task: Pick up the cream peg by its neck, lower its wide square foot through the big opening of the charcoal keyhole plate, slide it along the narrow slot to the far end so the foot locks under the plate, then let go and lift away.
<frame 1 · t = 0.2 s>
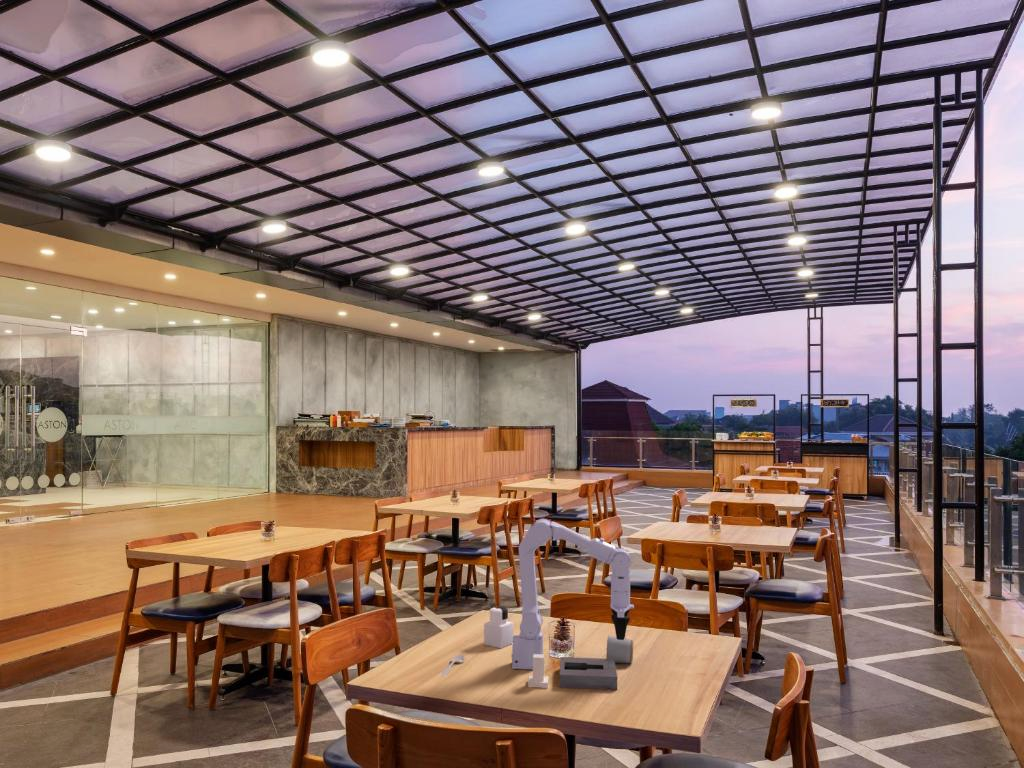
hand: (620, 635, 229), 10 cm above the table, tool pointing down, fingers open, 7 cm apart
ceramic mug: (619, 661, 237), on the table
peg: (538, 684, 215), on the table
keyhole plate: (587, 678, 220), on the table
spoon: (450, 670, 228), on the table
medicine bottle: (498, 644, 253), on the table
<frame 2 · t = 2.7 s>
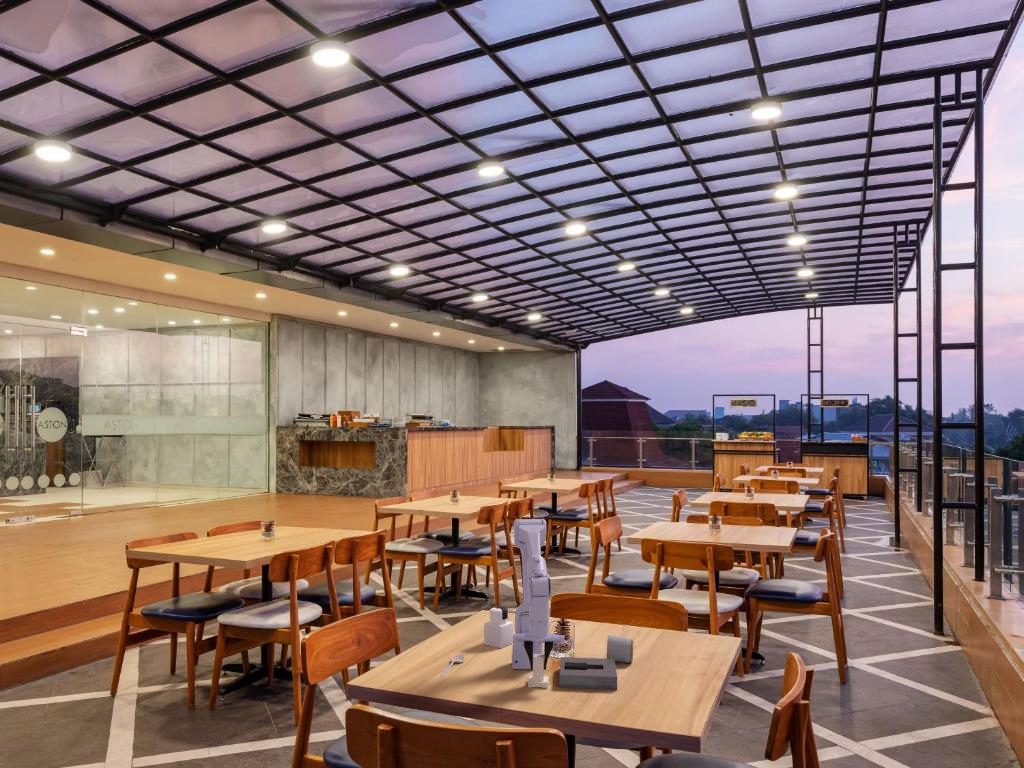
hand: (538, 668, 215), 4 cm above the table, tool pointing down, fingers closed on peg, 3 cm apart
peg: (538, 684, 215), on the table, touching gripper
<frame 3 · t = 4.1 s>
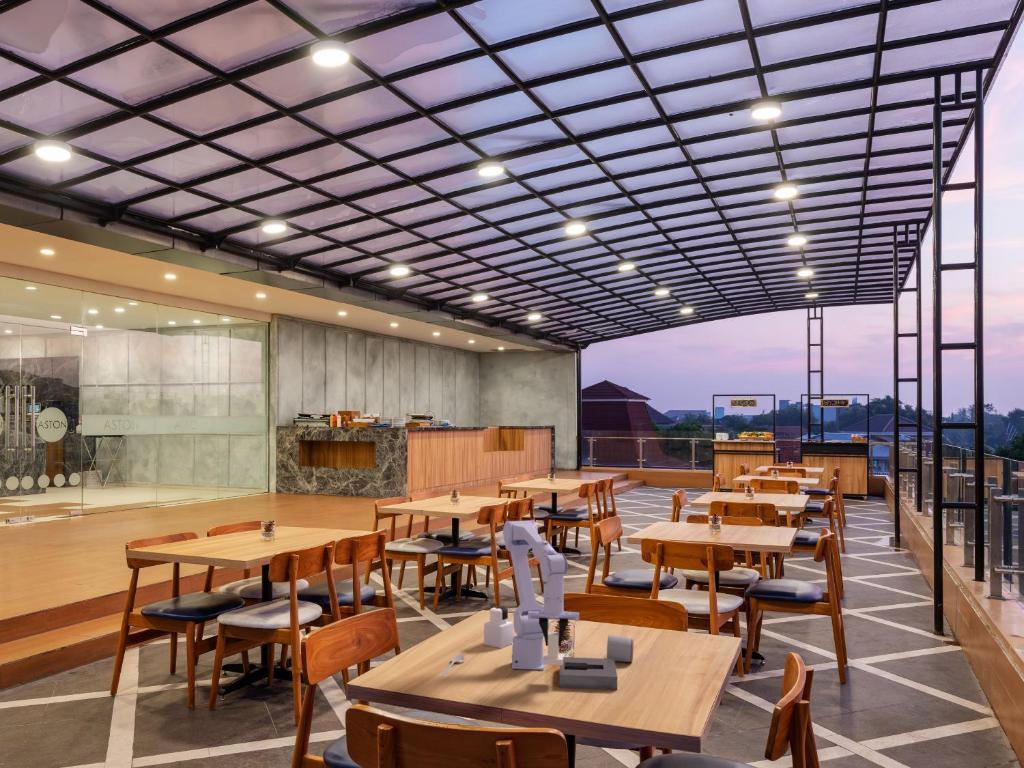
hand: (553, 645, 217), 10 cm above the table, tool pointing down, fingers closed on peg, 3 cm apart
peg: (553, 661, 217), point 6 cm above the table, touching gripper
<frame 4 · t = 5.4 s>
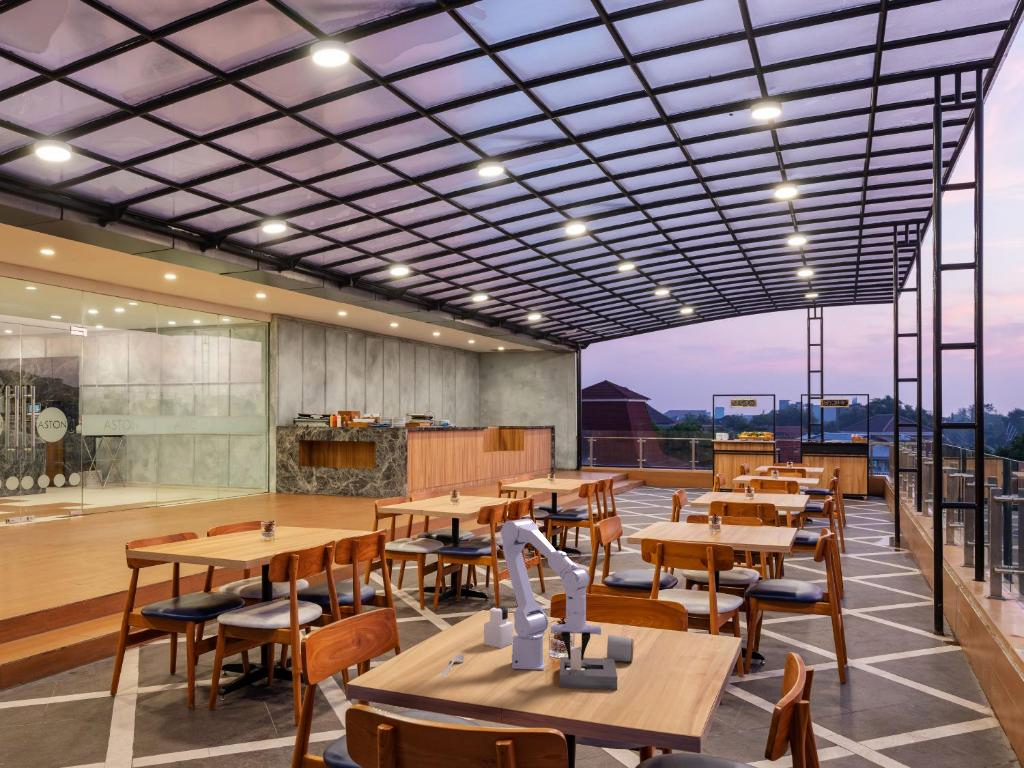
hand: (575, 658, 220), 6 cm above the table, tool pointing down, fingers closed on peg, 3 cm apart
peg: (575, 676, 220), point 1 cm above the table, touching gripper
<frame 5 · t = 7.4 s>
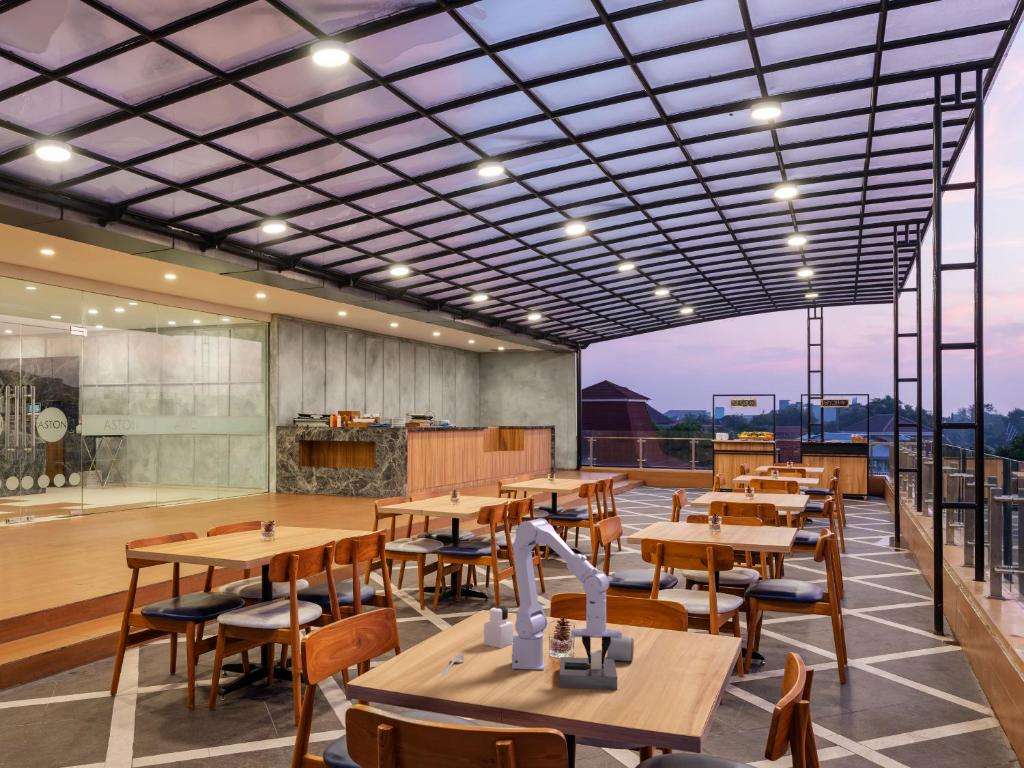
hand: (596, 663, 220), 5 cm above the table, tool pointing down, fingers closed on peg, 3 cm apart
peg: (596, 679, 219), resting in keyhole plate, touching gripper
when the fingers open (5 cm above the table, at t = 8.4 s): peg stays where it is, resting in keyhole plate.
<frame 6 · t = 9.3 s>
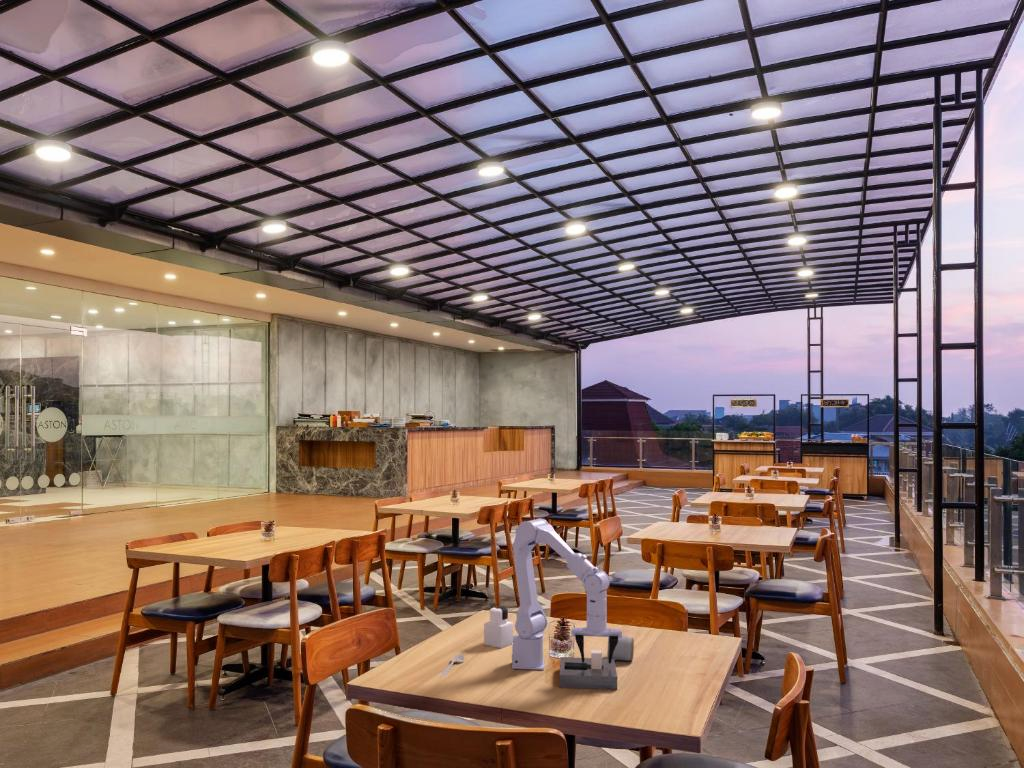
hand: (596, 661, 220), 5 cm above the table, tool pointing down, fingers open, 7 cm apart
peg: (596, 679, 219), resting in keyhole plate
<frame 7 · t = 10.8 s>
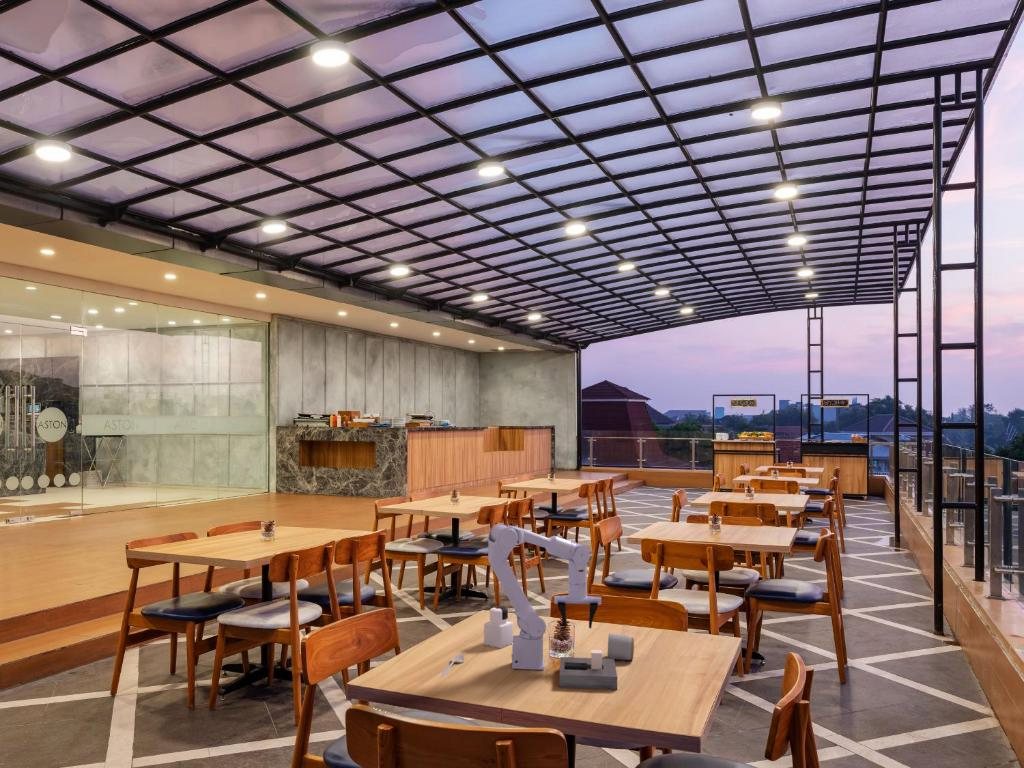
hand: (577, 627, 236), 10 cm above the table, tool pointing down, fingers open, 7 cm apart
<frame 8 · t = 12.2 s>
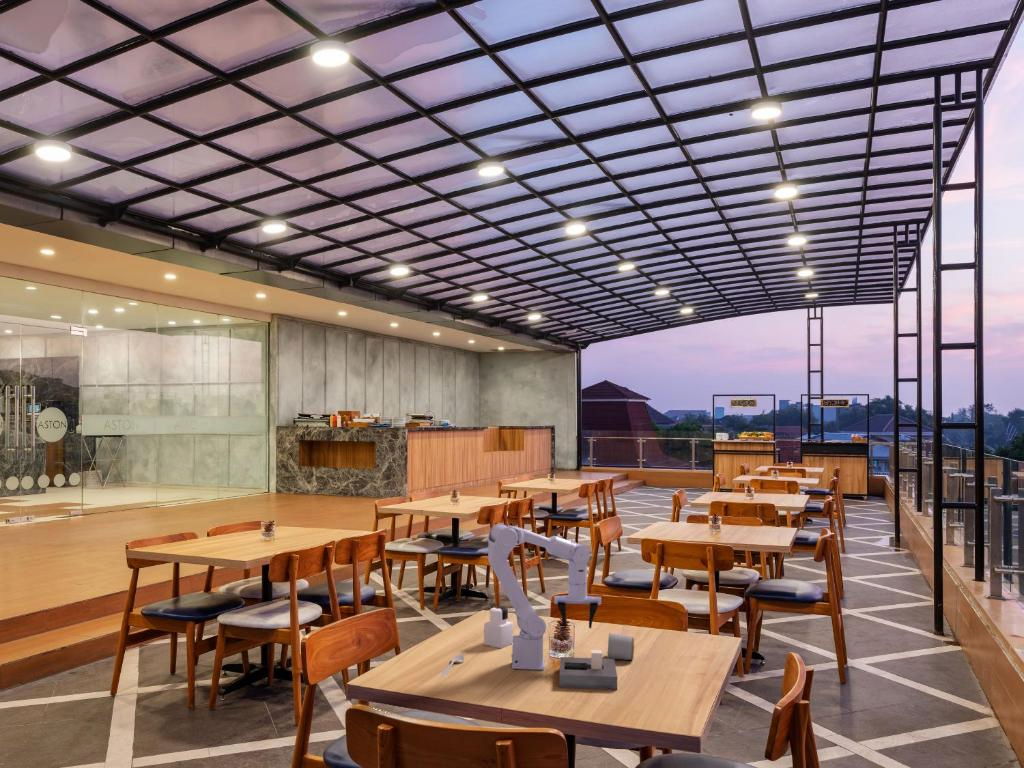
hand: (577, 627, 236), 10 cm above the table, tool pointing down, fingers open, 7 cm apart
at the end: peg 0.3 cm from the target spot on the keyhole plate, point 0.0 cm above the keyhole plate's base; peg tilted 0°; the gripper is holding nothing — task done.
